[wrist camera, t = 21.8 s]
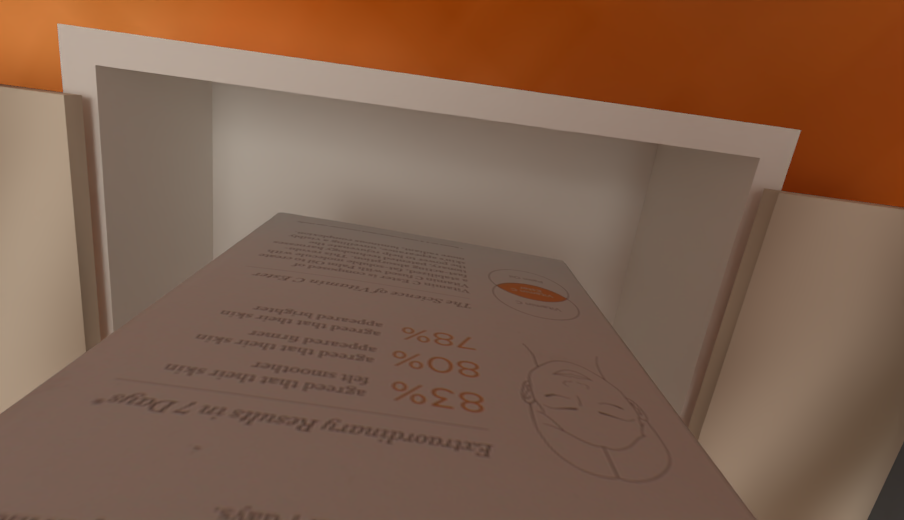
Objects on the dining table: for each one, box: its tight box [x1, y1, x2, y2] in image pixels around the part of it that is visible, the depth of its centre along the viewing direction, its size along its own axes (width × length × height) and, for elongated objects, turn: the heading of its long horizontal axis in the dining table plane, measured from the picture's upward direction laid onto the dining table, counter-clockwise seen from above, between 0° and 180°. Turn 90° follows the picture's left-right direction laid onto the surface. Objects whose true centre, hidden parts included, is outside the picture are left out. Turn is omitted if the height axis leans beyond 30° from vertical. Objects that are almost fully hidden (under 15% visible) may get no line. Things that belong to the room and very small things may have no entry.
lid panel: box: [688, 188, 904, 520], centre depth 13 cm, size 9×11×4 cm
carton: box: [57, 23, 801, 427], centre depth 18 cm, size 18×14×7 cm
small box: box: [0, 212, 756, 520], centre depth 9 cm, size 8×6×13 cm
